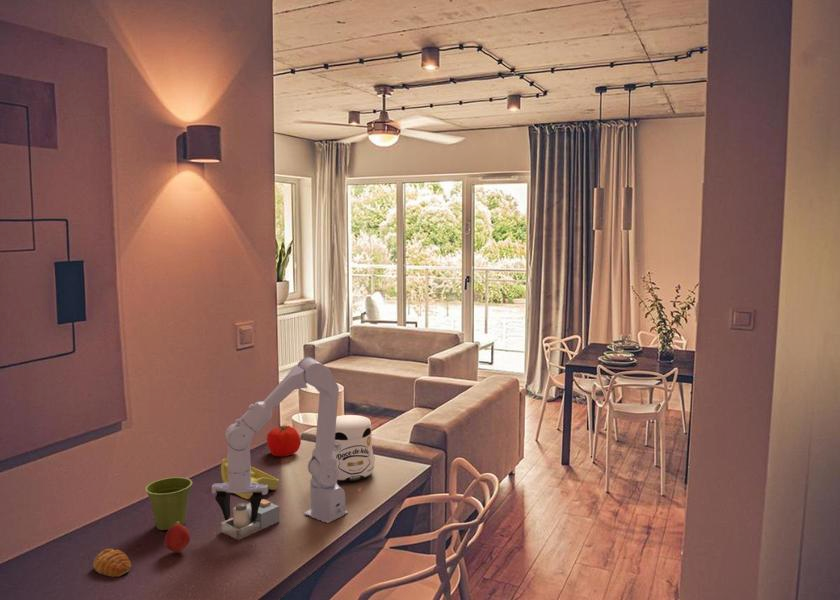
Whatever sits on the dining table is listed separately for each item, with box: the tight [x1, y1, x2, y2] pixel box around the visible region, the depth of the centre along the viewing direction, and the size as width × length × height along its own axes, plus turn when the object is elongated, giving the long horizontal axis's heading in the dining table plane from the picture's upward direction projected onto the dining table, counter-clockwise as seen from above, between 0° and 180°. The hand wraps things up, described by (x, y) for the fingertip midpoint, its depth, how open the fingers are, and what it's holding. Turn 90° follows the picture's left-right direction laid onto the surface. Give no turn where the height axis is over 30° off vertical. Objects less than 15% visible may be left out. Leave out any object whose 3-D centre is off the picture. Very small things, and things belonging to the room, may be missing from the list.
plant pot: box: [144, 476, 193, 531], centre depth 170 cm, size 12×12×11 cm
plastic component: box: [220, 458, 280, 500], centre depth 196 cm, size 20×7×10 cm
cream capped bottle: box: [232, 502, 251, 529], centre depth 167 cm, size 4×4×7 cm
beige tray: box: [219, 516, 261, 541], centre depth 167 cm, size 8×8×2 cm
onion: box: [164, 522, 191, 554], centre depth 156 cm, size 6×6×8 cm
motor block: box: [246, 498, 280, 529], centre depth 172 cm, size 8×6×5 cm
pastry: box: [92, 548, 132, 578], centre depth 148 cm, size 9×7×4 cm
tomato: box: [266, 424, 302, 457], centre depth 223 cm, size 11×13×10 cm
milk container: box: [334, 414, 376, 483], centre depth 204 cm, size 17×17×18 cm
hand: (241, 519), depth 167 cm, fingers open, 7 cm apart
